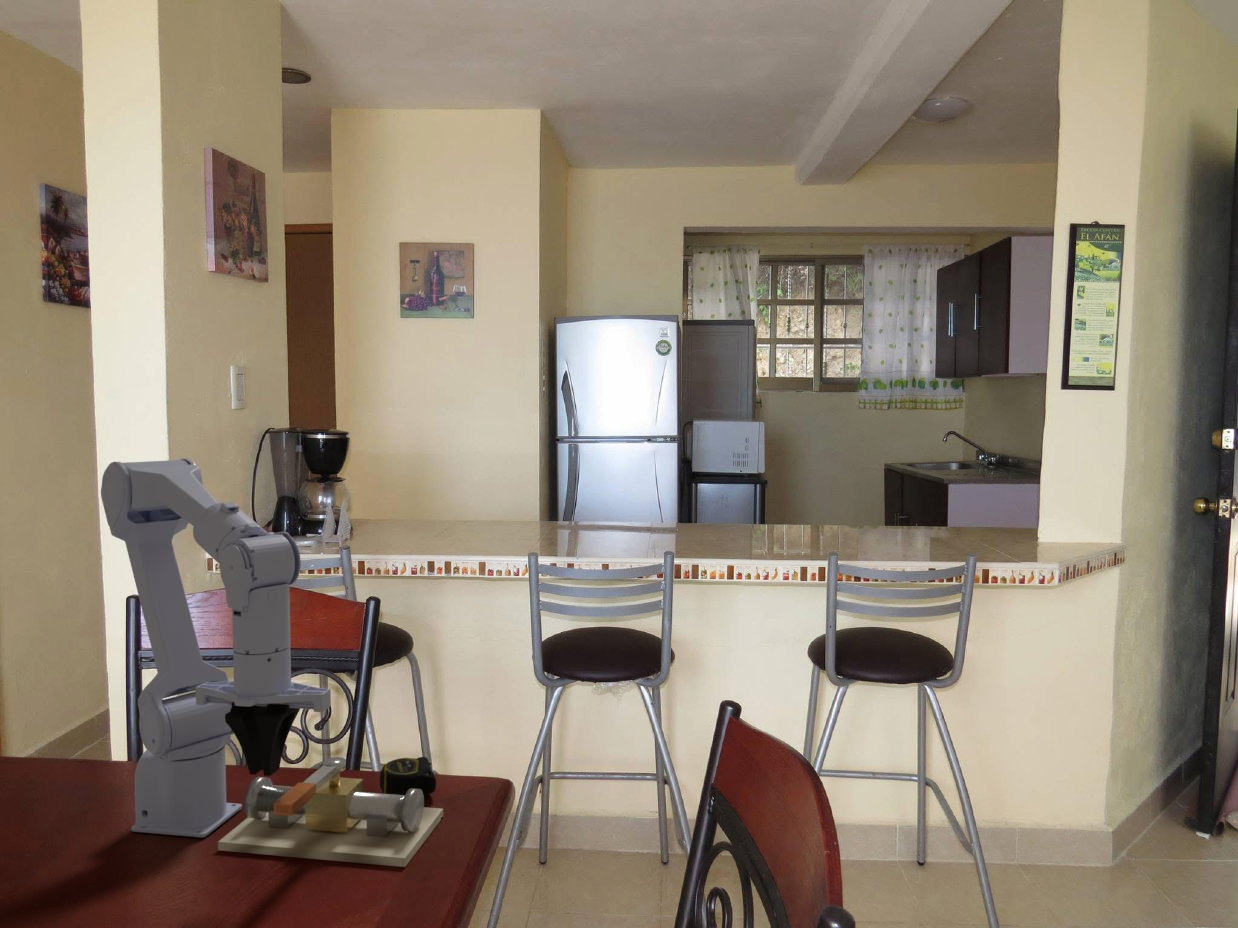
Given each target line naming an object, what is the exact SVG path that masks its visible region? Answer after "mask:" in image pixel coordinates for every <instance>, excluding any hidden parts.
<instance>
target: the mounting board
mask: <svg viewBox="0 0 1238 928" xmlns="http://www.w3.org/2000/svg"><path fill="white" fill-rule="evenodd" d="M442 817H443V818H444V808H439V807H425V806H424V810H423V816H422V820H421V823H420V825H419V827H418V829H417V830H416V831H415V832H410V831H404V830H403V829H402V826H401V823H399V824H398V825H397V826H396V827H395V829H394V830H393V831H392V832H391V833H390V834H389V836H388V837H387V838H384V837H373V836H367V820H358V822H357V823H356V824H355V825H354V826H353V827H352V828H351V829H350V830H349V831H348V832H347V833H345V832H333V831H321V830H309V829H306V815H303V816H302V817H301V818H300V819H299V820H298V821H297V822H296V823H294V824H293V825H292V826H291V827H290V828H289V829H278V828H269V820H268V812H267V814H266V815H265V816H264V817H263V818H261V819H253V818H249V817H247V818H245V819H244V820H243V821H242V822H240V823H239V824H238V825H237V826H235V827H234V828H233V829H232V830H230V831H229V832H228V833H227V834H225V835H224V836H223V837H222V838H221V839H220V840H218V841H217V848H218V849H217V850H218V851H219V852H220V851H221V852H222V851H223V852H232V853H233V852H235V853H243V854H253V855H254V854H255V855H256V854H257V855H266V856H277V857H288V858H300V859H312V860H323V861H333V862H342V863H343V862H345V863H355V864H369V865H377V866H378V865H379V866H388V867H389V866H391V867H398V868H399V867H400V868H402V867H403V868H406V866H407V865H408V864H409V863H410V861H411V860H412V859H413V857H414V856H415V855H416V854H417V852H418V851H419V849H420V848H422V846H423V844H424V843H425V842H426V840H427V839H428V838H429V836H430V835H431V833H432V832H433V831H434V830H435V829H436V828H437V826H438V825H439V823H440V822H441V820H442V819H443V818H442ZM441 818H442V819H441Z"/></svg>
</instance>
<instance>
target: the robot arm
mask: <svg viewBox="0 0 1238 928" xmlns="http://www.w3.org/2000/svg"><path fill="white" fill-rule="evenodd" d="M201 471H202V470H201V468H200V466H198V465H197V464H196V463H195V462H194V461H193V460H192V459H191V458H181V459H176V460H175V459H173V460H154V461H153V460H152V461H151V460H150V461H133V462H132V461H131V462H121V461H111V462H110V463H109V464H108V465H107V467H106V468H105V470H104V472H103V474H102V479H101V489H100V497H101V500H102V501H101V502H102V505H103V509H104V513H105V517H106V518H105V519H106V521H107V525H108V527H109V530H110V534H111V536H112V537H115V538H117V539H119V540H121V541H124V543H125V548H126V552H127V555H128V559H129V562H130V567H131V571H132V575H133V579H134V582H135V586H136V590H137V595H138V599H139V603H140V607H141V611H142V614H143V615H142V616H143V618H144V619H143V620H144V624H145V626H146V627H145V628H146V630H147V635H148V639H149V644H150V647H151V651H152V652H151V653H152V655H153V659H154V664H155V666H156V671H157V673H156V675H155V676H154V677H153V678H152V679H151V681H149V683H148V684H147V685H146V686H145V687H144V688H143V689H142V691H141V692H140V694H139V697H138V698H137V706H138V712H139V721H138V725H139V728H138V729H139V734H140V738H141V741H142V744H143V745H144V747H145V751H144V752H143V753H142V755H141V756H140V758H139V759H138V762H137V764H136V767H135V771H134V801H135V804H134V805H135V807H134V809H135V810H134V811H135V824H134V825H132V826H131V827H130V828H131V829H130V830H131V832H136V833H144V834H145V833H148V834H158V835H169V836H182V837H194V838H205V837H207V836H208V835H210V834H211V833H213V832H214V830H216V829H217V828H218V827H220V826H221V825H222V824H224V823H225V822H226V821H228V820H229V819H230V818H231V817H233V816H234V815H235V814H236V813H238V812H239V811H240V810H241V809H242V808H243V804H242V803H236V802H234V803H232V802H227V776H226V775H227V774H226V773H227V771H226V770H227V768H226V767H227V766H226V765H227V764H226V762H227V761H226V746H227V745H230V744H231V743H232V739H231V737H232V735H234V736H235V738H236V739H237V741H238V744H239V745H240V748H241V751H242V753H243V756H244V759H245V762H246V765H247V769H248V772H249V775H252V776H255V775H258V773H259V772H263V776H264V777H266V776H267V777H270V776H272V775H274V774H275V773H276V772H277V771H278V770H280V768H281V767H280V766H281V762H282V757H283V753H284V749H285V745H286V742H287V739H288V735H289V734H290V731H291V728H292V726H293V724H294V722H295V721H296V719H297V716H298V714H299V712H300V711H301V709H303V710H313V712H314V713H323V712H324V711H326V710H328V709H329V708H330V707H331V706H332V703H331V700H332V699H331V698H332V696H331V691H332V690H331V688H322V687H316V686H312V685H307V684H303V683H299V682H294V681H292V667H291V666H292V662H291V661H292V659H291V653H292V652H291V651H292V650H291V610H290V609H291V607H290V606H291V604H290V603H291V601H290V598H291V596H290V592H291V591H290V585H293V584H294V583H295V582H296V581H297V580H298V578H299V575H300V572H301V565H302V564H301V561H302V560H301V555H300V549H299V547H298V545H297V542H296V540H294V539H293V537H292V536H291V535H290V534H289V532H286V531H278V532H274V531H269V532H268V531H266V530H265V529H264V528H263V527H262V526H261V525H259V523H257V522H256V521H255V520H253V519H252V518H251V517H250V516H249V515H248V514H247V513H246V512H244V511H243V510H242V509H241V508H240V506H239V504H238V503H236V502H235V501H232V502H218V501H217V500H216V499H215V498H214V496H213V495H212V494H211V492H209V491H208V489H206V487H205V486H204V483H203V477H202V475H203V474H202V472H201ZM189 524H190V525H191V526H192V534H193V535H192V537H193V539H194V541H195V542H196V544H198V546H200V547H201V549H203V550H204V551H205V552H206V553H207V554H208V556H210V557H211V558H212V559H213V560H214V561H215V562H216V563H217V564H218V565H219V575H220V578H221V581H222V583H223V585H224V589H225V597H226V598H225V603H227V607H228V608H229V609H231V611H232V612H231V613H232V615H231V617H232V618H231V619H232V621H231V622H232V653H233V655H232V656H233V657H232V658H233V659H232V663H233V666H232V667H233V681H232V680H231V681H230V680H229V677H228V675H227V672H226V671H225V670H224V669H222V668H219V667H217V666H215V665H212V664H210V663H209V662H207V661H205V660H203V658H202V657H203V656H202V653H201V650H200V649H201V648H200V645H199V641H198V638H197V633H196V631H195V625H194V622H193V619H192V614H191V611H190V607H189V603H188V599H187V595H186V593H185V588H184V584H183V580H182V576H181V573H180V570H179V564H178V562H177V561H178V560H177V558H176V553H175V550H174V546H173V538H174V536H175V535H177V534H178V533H180V532H182V531H184V530H185V529H187V527H188V525H189Z"/></svg>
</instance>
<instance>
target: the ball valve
mask: <svg viewBox="0 0 1238 928" xmlns="http://www.w3.org/2000/svg"><path fill="white" fill-rule="evenodd" d="M293 787H294V786H288V785H278V784H277V785H275V784H273V781H272V779H271V778H270V777H268V776H267V777H266V776H264V777H263V776H257V777H255V778H254V779H252V780H251V782H250V783H249V785H248V788H247V789H246V793H245V796H244V803H243V805H244V807H243V809H244V812H245V816H246V817H247V818H248V817H249V818H253V819H261V818H263V817H264V816H265V815H266V814H267V812H268V820H269V828H278V829H289V828H290V827H291V826H292V825H293V824H294V823H296V822H297V821H298V820H299V819H300V818H301V817H302V816H303V815H306V829H309V830H321V831H333V832H345V833H347V832H348V831H349V830H350V829H351V828H352V827H353V826H354V825H355V824H356V823H357V822H358V820H367V836H373V837H384V838H387V837H388V836H389V834H390V833H391V832H392V831H393V830H394V829H395V827H396V826H397V825H398V824H399V823H401V826H402V829H403V830H404V831H410V832H415V831H416V830H417V829H418V827H419V825H420V823H421V820H422V816H423V810H424V807H425V795H423V792H422V790H421V789H412V788H411V789H409V790H408V791H407V793H406V795H394V794H384V793H382V792H380V793H378V792H367V791H364V778H353V777H352V778H351V777H341V772H340V773H336V774H335V775H334V776H332V777H331V778H330V779H329V780H328V781H327V782H326V783H325V784H323V785H322V786H321V787H320V788H319V789H318V790H317V791H316V795H315V796H314V797H313V798H311V799H310V800H309V801H308V802H307V803H306V804H305V805H304V806H302V807H301V808H300V809H299V810H298V811H297V812H296V813H295V814H293V815H292V816H287V815H275V814H274V803H275V802H276V801H277V800H278V799H279V798H281V797H282V796H283V795H284V794H285V793H287V792H288V791H289V790H290V789H291V788H293Z"/></svg>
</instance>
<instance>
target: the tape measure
mask: <svg viewBox="0 0 1238 928" xmlns="http://www.w3.org/2000/svg"><path fill="white" fill-rule="evenodd" d="M431 765H432V762H430V761H429V759H428V758H427V757H426V756H420V757H417V758H413V757H401V758H396V759H393V760H391V761H388V762H386V763H384V765H383V766H382V768H381V769H380V773H379V788H380V790H381V793H382V794H394V795H406V793H407V791H408V790H409V789H411V788H412V789H421V790H422V792H423V795H424V796H429V795H430V794H433V793H434V792H435V791H436V787H437V780H436V776H435V774H434V772H433V770H432V766H431Z"/></svg>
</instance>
